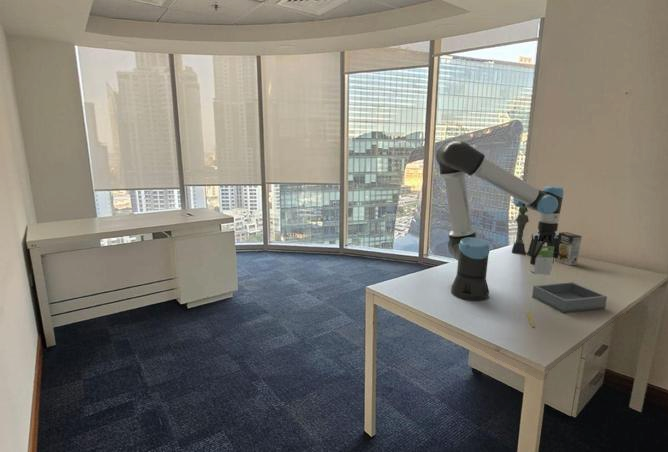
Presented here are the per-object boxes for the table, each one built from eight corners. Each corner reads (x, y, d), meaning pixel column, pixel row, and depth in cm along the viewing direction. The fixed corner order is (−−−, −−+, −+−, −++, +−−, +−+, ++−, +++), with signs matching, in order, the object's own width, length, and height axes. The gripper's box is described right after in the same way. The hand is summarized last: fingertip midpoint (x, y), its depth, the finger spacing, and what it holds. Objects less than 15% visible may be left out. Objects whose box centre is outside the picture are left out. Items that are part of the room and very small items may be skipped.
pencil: (531, 329, 131) (532, 326, 131) (525, 312, 144) (525, 310, 144) (535, 329, 131) (535, 326, 131) (528, 313, 144) (528, 310, 144)
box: (563, 313, 144) (565, 301, 142) (532, 297, 159) (533, 285, 158) (605, 308, 148) (607, 296, 147) (570, 293, 164) (572, 282, 163)
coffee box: (554, 260, 211) (558, 232, 207) (562, 259, 212) (567, 231, 209) (568, 265, 202) (572, 236, 199) (577, 264, 204) (582, 235, 200)
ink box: (546, 272, 173) (550, 244, 170) (550, 275, 169) (555, 246, 166) (530, 271, 174) (534, 243, 171) (533, 274, 170) (538, 245, 167)
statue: (524, 251, 228) (531, 202, 221) (525, 254, 221) (531, 204, 215) (511, 250, 231) (517, 201, 224) (512, 253, 224) (518, 203, 218)
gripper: (535, 223, 160) (527, 274, 165) (574, 223, 165) (565, 272, 170) (522, 220, 167) (515, 269, 172) (560, 219, 172) (552, 267, 177)
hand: (540, 270), depth 171 cm, fingers closed on ink box, 8 cm apart
